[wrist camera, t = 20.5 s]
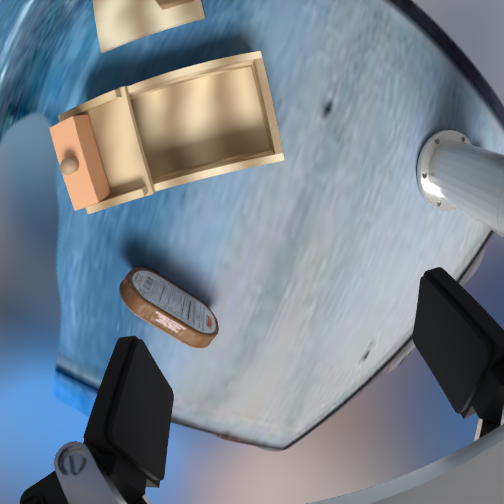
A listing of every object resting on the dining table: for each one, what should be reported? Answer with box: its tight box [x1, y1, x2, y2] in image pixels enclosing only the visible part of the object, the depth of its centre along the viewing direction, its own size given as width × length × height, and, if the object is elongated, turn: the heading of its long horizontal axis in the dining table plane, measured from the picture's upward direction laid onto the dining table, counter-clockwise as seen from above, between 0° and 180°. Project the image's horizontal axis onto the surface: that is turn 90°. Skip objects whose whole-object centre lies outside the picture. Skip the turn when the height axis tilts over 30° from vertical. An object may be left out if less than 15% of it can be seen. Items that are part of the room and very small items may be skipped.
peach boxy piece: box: [50, 115, 111, 211], centre depth 25 cm, size 3×9×5 cm, turn 12°
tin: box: [119, 268, 219, 348], centre depth 40 cm, size 15×3×8 cm, turn 50°
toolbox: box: [58, 51, 284, 214], centre depth 30 cm, size 22×12×8 cm, turn 102°
